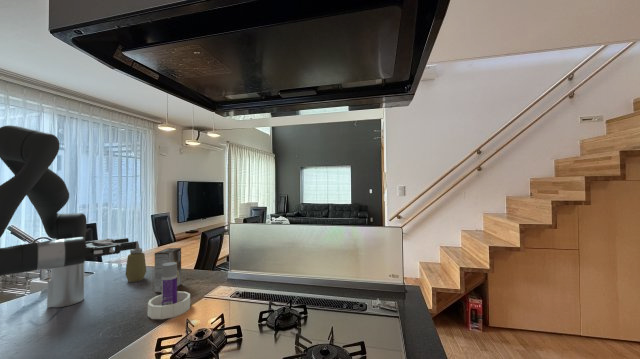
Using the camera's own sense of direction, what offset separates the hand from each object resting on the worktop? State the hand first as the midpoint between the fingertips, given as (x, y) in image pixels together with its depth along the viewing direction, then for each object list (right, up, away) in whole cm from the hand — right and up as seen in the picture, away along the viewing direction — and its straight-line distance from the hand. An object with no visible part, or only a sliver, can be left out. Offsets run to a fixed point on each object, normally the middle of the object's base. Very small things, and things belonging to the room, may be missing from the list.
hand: (131, 243), depth 85 cm
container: (+8, -24, +7) cm, 26 cm away
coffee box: (-4, -26, +28) cm, 38 cm away
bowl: (+8, -25, +7) cm, 27 cm away
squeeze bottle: (-25, -27, +38) cm, 53 cm away
